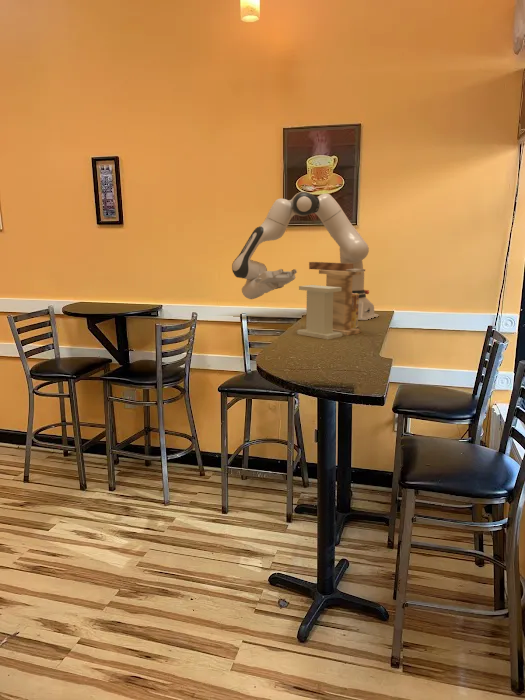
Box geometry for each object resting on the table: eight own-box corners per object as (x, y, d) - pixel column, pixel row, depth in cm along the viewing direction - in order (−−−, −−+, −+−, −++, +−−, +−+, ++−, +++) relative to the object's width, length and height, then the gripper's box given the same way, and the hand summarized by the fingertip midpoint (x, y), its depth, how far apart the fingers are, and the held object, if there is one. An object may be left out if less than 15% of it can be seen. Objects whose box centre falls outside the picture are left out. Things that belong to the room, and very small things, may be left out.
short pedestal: (311, 331, 229) (312, 284, 225) (342, 336, 217) (343, 287, 213) (296, 333, 223) (297, 286, 219) (327, 339, 211) (328, 289, 207)
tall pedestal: (329, 327, 237) (331, 269, 232) (360, 332, 225) (362, 270, 219) (316, 330, 231) (317, 270, 226) (346, 335, 219) (348, 271, 213)
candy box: (358, 327, 238) (359, 293, 235) (355, 329, 234) (356, 294, 231) (339, 326, 242) (340, 292, 239) (336, 327, 238) (337, 293, 235)
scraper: (306, 269, 232) (306, 262, 231) (316, 268, 236) (316, 261, 235) (356, 272, 212) (356, 264, 212) (365, 271, 216) (365, 263, 216)
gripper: (251, 275, 246) (271, 263, 237) (280, 275, 261) (301, 264, 252) (254, 288, 246) (275, 277, 236) (284, 287, 260) (304, 277, 251)
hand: (289, 270), depth 244 cm, fingers open, 8 cm apart
